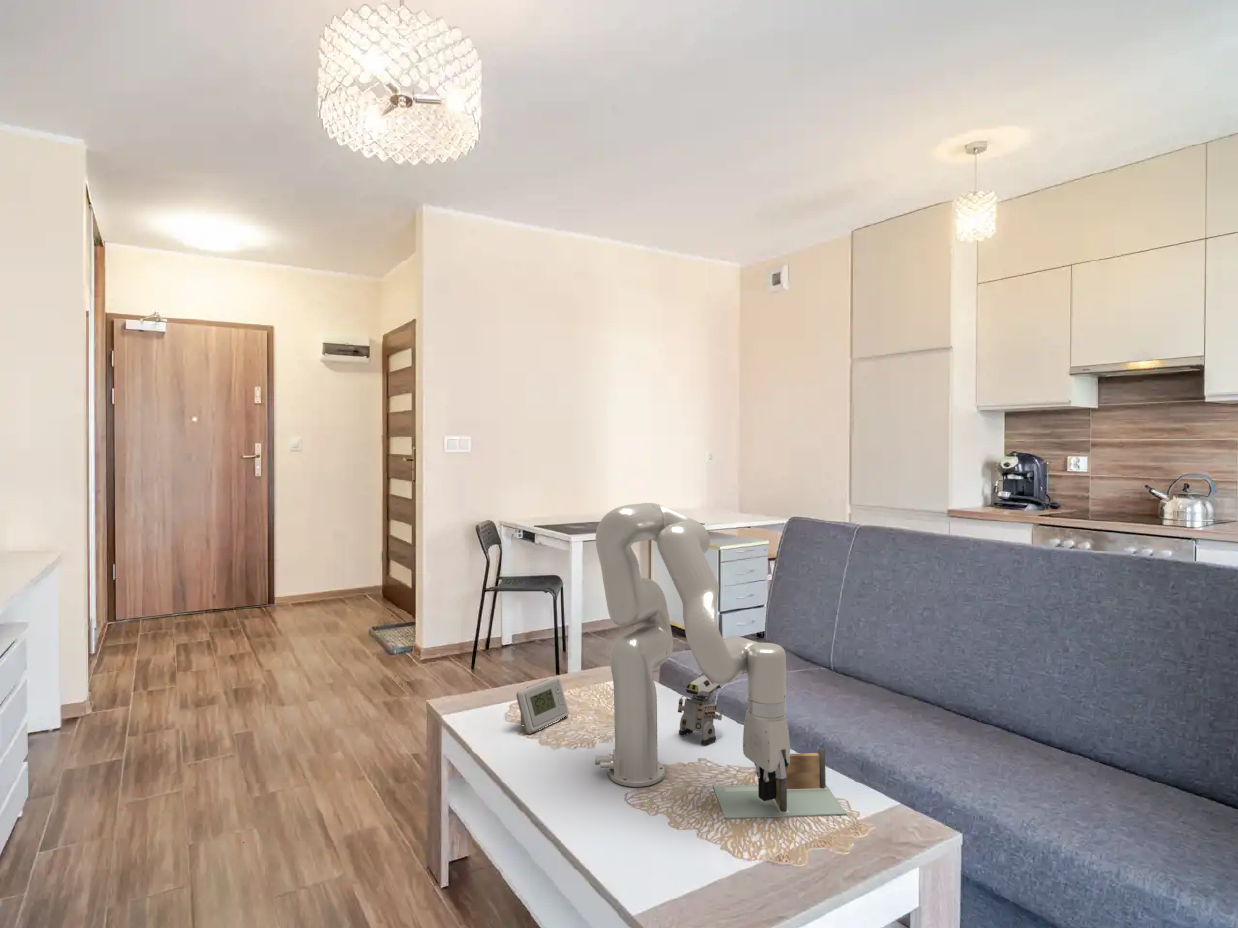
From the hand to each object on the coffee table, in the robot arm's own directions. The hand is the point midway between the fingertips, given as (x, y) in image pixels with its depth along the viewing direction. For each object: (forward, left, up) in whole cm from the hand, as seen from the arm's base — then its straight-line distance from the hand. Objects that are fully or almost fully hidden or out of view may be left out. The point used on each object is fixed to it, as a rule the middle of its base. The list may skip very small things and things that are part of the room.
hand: (767, 797), depth 138 cm
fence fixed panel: (+9, +7, -2) cm, 12 cm away
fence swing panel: (+3, +3, -1) cm, 4 cm away
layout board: (+3, +3, -2) cm, 4 cm away
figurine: (-7, +36, -2) cm, 37 cm away
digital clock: (-48, +47, -2) cm, 68 cm away
